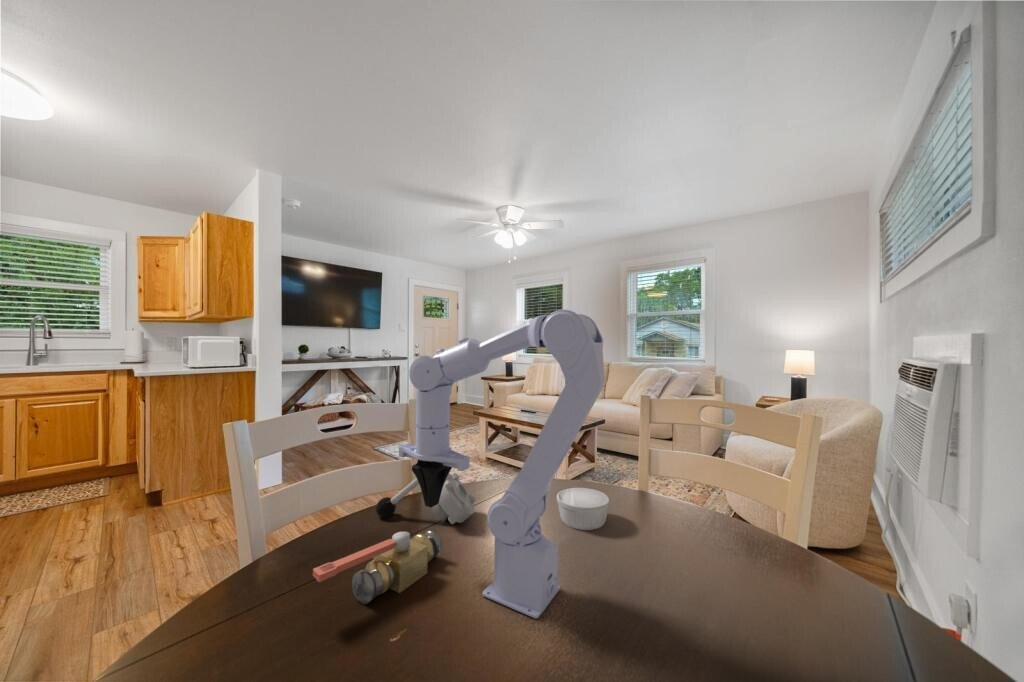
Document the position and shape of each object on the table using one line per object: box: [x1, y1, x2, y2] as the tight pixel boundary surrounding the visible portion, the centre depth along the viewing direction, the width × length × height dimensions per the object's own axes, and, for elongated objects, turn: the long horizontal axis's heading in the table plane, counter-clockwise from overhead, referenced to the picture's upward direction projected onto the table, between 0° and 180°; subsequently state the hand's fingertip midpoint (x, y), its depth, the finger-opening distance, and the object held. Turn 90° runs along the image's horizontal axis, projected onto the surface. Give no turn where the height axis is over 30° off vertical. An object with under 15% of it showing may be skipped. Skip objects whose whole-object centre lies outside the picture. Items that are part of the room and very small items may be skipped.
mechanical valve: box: [375, 472, 477, 525], centre depth 83 cm, size 10×18×15 cm
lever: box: [312, 531, 411, 583], centre depth 58 cm, size 15×3×2 cm, turn 138°
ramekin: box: [556, 487, 610, 531], centre depth 83 cm, size 11×11×5 cm
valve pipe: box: [351, 529, 443, 605], centre depth 62 cm, size 15×6×5 cm, turn 149°
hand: (432, 504), depth 65 cm, fingers closed
